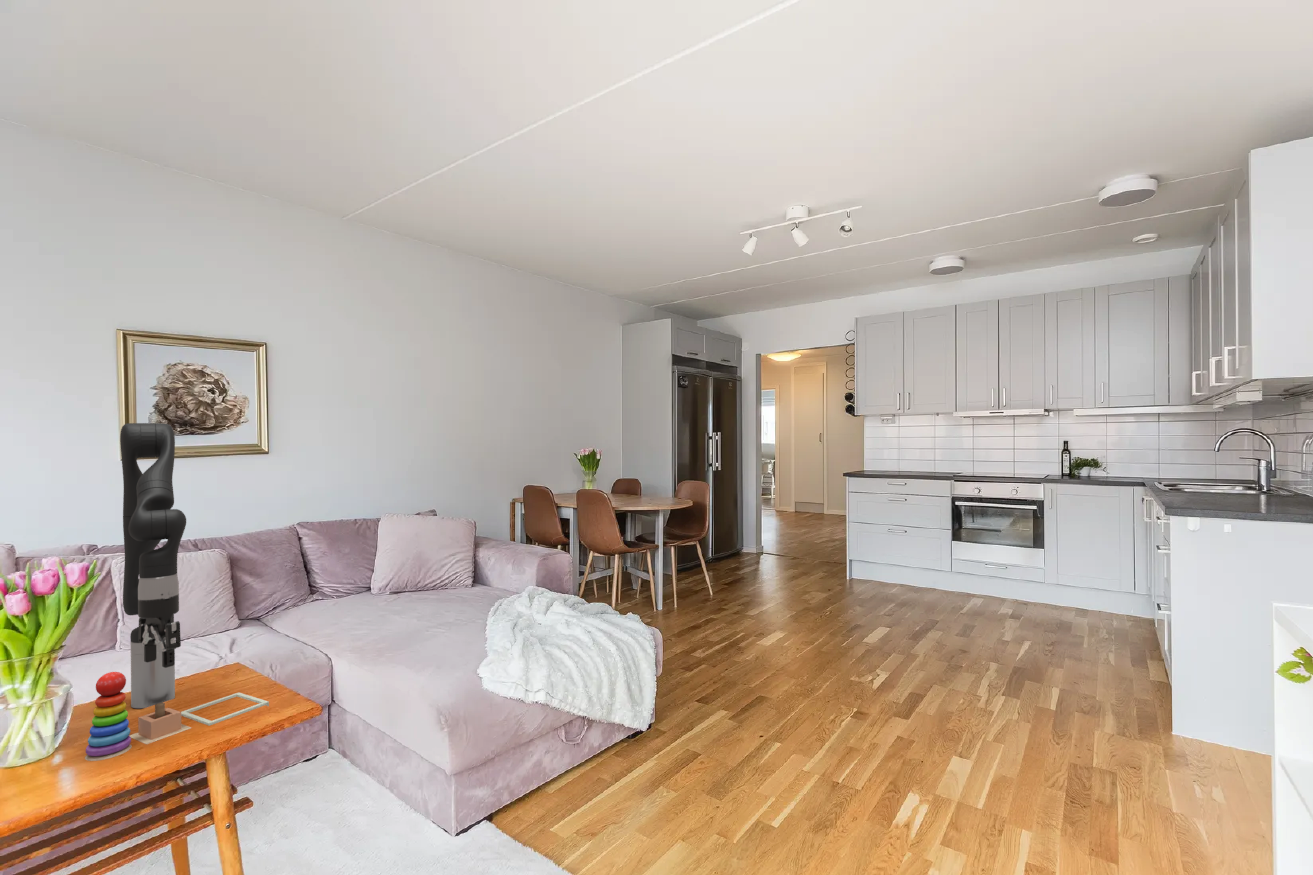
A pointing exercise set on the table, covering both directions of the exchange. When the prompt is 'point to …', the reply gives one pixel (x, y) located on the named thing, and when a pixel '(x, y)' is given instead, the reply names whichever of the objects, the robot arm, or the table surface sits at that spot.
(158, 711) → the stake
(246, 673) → the table surface
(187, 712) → the tray
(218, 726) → the table surface
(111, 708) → the stacking toy
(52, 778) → the table surface
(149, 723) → the collar
